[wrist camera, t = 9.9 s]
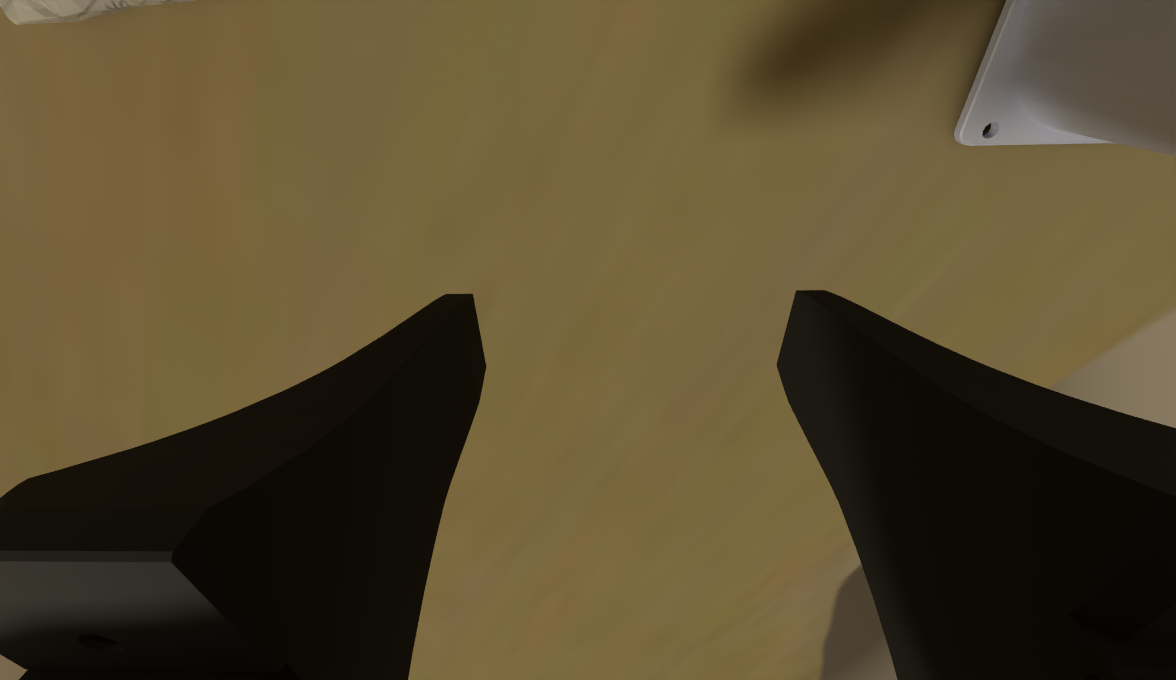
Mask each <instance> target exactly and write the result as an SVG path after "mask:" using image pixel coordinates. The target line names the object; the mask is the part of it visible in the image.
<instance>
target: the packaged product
mask: <svg viewBox="0 0 1176 680" xmlns="http://www.w3.org/2000/svg"><path fill="white" fill-rule="evenodd" d="M190 1H197V0H0V7H1V8H2V10H3V11H4V13H5V14H6V15H7V17H8V18H9V19H10V20H11V21H12V22H14V23H15V24H16V25H21V24H38V23H56V22H73V21H82V20H86V19H90V18H95V17H99V16H103V15H107V14H112V13H116V12H120V11H125V10H129V9H133V8H137V7H141V6H145V5H158V4H172V3H183V2H190Z"/></svg>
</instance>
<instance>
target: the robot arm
mask: <svg viewBox="0 0 1176 680" xmlns="http://www.w3.org/2000/svg"><path fill="white" fill-rule="evenodd" d="M990 123H991V128H990V130H989V131H988V133H986V134H985V135H982V133H983V130H984V128H985V127H986V126H987V125H988V124H990ZM954 137H955V140H956V141H957V142H958V143H960V144H964V145H968V146H977V145H1031V144H1085V143H1118V144H1123V145H1127V146H1132V147H1136V148H1141V149H1145V150H1150V151H1154V152H1159V153H1163V154H1168V155H1172V156H1176V0H1006V2H1005V5H1004V7H1003V10H1002V12H1001V15H1000V17H999V20H998V23H997V25H996V28H995V30H994V33H993V35H992V38H991V40H990V43H989V45H988V48H987V50H986V53H985V55H984V58H983V60H982V63H981V65H980V68H979V70H978V73H977V75H976V78H975V81H974V83H973V86H972V88H971V91H970V93H969V96H968V98H967V101H966V103H965V106H964V108H963V111H962V113H961V116H960V118H959V121H958V123H957V126H956V128H955V133H954ZM777 368H778V371H779V374H780V378H781V381H782V384H783V387H784V390H785V393H786V396H787V399H788V402H789V404H790V406H791V408H792V410H793V412H794V414H795V416H796V418H797V420H798V422H799V424H800V426H801V428H802V430H803V432H804V434H805V436H806V438H807V440H808V442H809V444H810V446H811V448H812V449H813V451H814V453H815V455H816V457H817V459H818V461H819V463H820V465H821V467H822V469H823V471H824V473H825V475H826V477H827V479H828V481H829V483H830V485H831V487H832V489H833V491H834V493H835V496H836V498H837V500H838V502H839V504H840V507H841V509H842V512H843V515H844V517H845V520H846V523H847V525H848V528H849V531H850V533H851V536H852V539H853V541H854V544H855V546H856V549H857V552H858V555H859V558H860V561H861V564H862V567H863V569H864V572H865V575H866V578H867V581H868V584H869V587H870V590H871V593H872V595H873V599H874V602H875V605H876V608H877V612H878V615H879V618H880V621H881V624H882V628H883V631H884V634H885V638H886V641H887V644H888V647H889V650H890V654H891V657H892V661H893V664H894V668H895V672H896V675H897V679H898V680H1176V428H1173V427H1169V426H1166V425H1162V424H1159V423H1155V422H1152V421H1148V420H1144V419H1141V418H1138V417H1134V416H1131V415H1127V414H1124V413H1121V412H1117V411H1114V410H1111V409H1108V408H1105V407H1101V406H1098V405H1095V404H1092V403H1089V402H1085V401H1083V400H1079V399H1076V398H1073V397H1070V396H1067V395H1064V394H1061V393H1058V392H1055V391H1052V390H1049V389H1047V388H1044V387H1041V386H1038V385H1035V384H1033V383H1030V382H1028V381H1025V380H1022V379H1020V378H1017V377H1014V376H1012V375H1009V374H1006V373H1004V372H1001V371H999V370H996V369H993V368H991V367H989V366H986V365H984V364H981V363H979V362H976V361H974V360H972V359H969V358H967V357H965V356H963V355H961V354H958V353H956V352H954V351H952V350H949V349H947V348H945V347H943V346H941V345H938V344H936V343H934V342H932V341H930V340H928V339H926V338H924V337H922V336H919V335H917V334H915V333H913V332H911V331H909V330H907V329H905V328H903V327H901V326H899V325H897V324H895V323H893V322H891V321H889V320H887V319H885V318H883V317H881V316H879V315H877V314H876V313H874V312H872V311H870V310H868V309H866V308H864V307H862V306H860V305H858V304H856V303H853V302H851V301H849V300H847V299H845V298H843V297H841V296H838V295H836V294H833V293H831V292H828V291H825V290H804V291H796V293H795V297H794V301H793V305H792V308H791V312H790V316H789V320H788V323H787V327H786V331H785V335H784V339H783V342H782V346H781V350H780V354H779V357H778V361H777ZM485 370H486V363H485V357H484V352H483V346H482V341H481V336H480V330H479V325H478V319H477V314H476V309H475V303H474V298H473V294H445V295H444V296H442V297H440V298H438V299H436V300H435V301H433V302H432V303H430V304H429V305H427V306H426V307H424V308H423V309H421V310H420V311H418V312H417V313H415V314H414V315H412V316H411V317H410V318H408V319H407V320H405V321H404V322H402V323H401V324H399V325H398V326H396V327H395V328H393V329H392V330H390V331H389V332H387V333H386V334H384V335H383V336H381V337H380V338H378V339H376V340H375V341H373V342H372V343H370V344H368V345H367V346H365V347H364V348H362V349H360V350H359V351H357V352H355V353H354V354H352V355H351V356H349V357H347V358H346V359H344V360H342V361H341V362H339V363H337V364H335V365H334V366H332V367H330V368H328V369H326V370H324V371H322V372H321V373H319V374H317V375H315V376H313V377H311V378H309V379H307V380H305V381H303V382H301V383H299V384H297V385H295V386H293V387H291V388H289V389H286V390H284V391H282V392H280V393H277V394H275V395H273V396H270V397H268V398H266V399H263V400H261V401H259V402H256V403H254V404H252V405H249V406H247V407H245V408H242V409H240V410H238V411H235V412H233V413H231V414H228V415H226V416H223V417H221V418H218V419H215V420H213V421H210V422H207V423H205V424H202V425H199V426H196V427H194V428H191V429H188V430H185V431H182V432H180V433H177V434H174V435H171V436H168V437H165V438H162V439H159V440H156V441H153V442H150V443H147V444H144V445H141V446H138V447H135V448H132V449H129V450H125V451H122V452H118V453H115V454H112V455H108V456H105V457H101V458H98V459H95V460H91V461H88V462H84V463H81V464H78V465H74V466H71V467H67V468H64V469H61V470H57V471H54V472H50V473H47V474H43V475H39V476H35V477H32V478H28V479H27V480H25V481H23V482H21V483H20V484H18V485H17V486H15V487H14V488H13V489H11V490H10V491H9V492H7V493H6V494H5V495H3V496H2V497H1V498H0V654H1V655H2V656H4V657H6V658H7V659H9V660H11V661H13V662H14V663H16V664H18V665H19V666H21V667H23V668H24V669H28V670H27V671H26V672H25V673H24V675H23V676H22V677H21V678H20V679H19V680H408V676H409V670H410V664H411V658H412V653H413V647H414V642H415V637H416V632H417V626H418V621H419V616H420V611H421V606H422V600H423V595H424V590H425V586H426V581H427V576H428V572H429V567H430V563H431V558H432V553H433V549H434V544H435V540H436V536H437V532H438V528H439V523H440V519H441V515H442V511H443V507H444V503H445V499H446V496H447V493H448V490H449V486H450V483H451V481H452V478H453V475H454V472H455V469H456V467H457V464H458V461H459V458H460V455H461V453H462V450H463V447H464V444H465V441H466V439H467V436H468V433H469V430H470V427H471V425H472V422H473V419H474V416H475V413H476V410H477V407H478V404H479V400H480V396H481V391H482V386H483V381H484V375H485Z"/></svg>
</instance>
